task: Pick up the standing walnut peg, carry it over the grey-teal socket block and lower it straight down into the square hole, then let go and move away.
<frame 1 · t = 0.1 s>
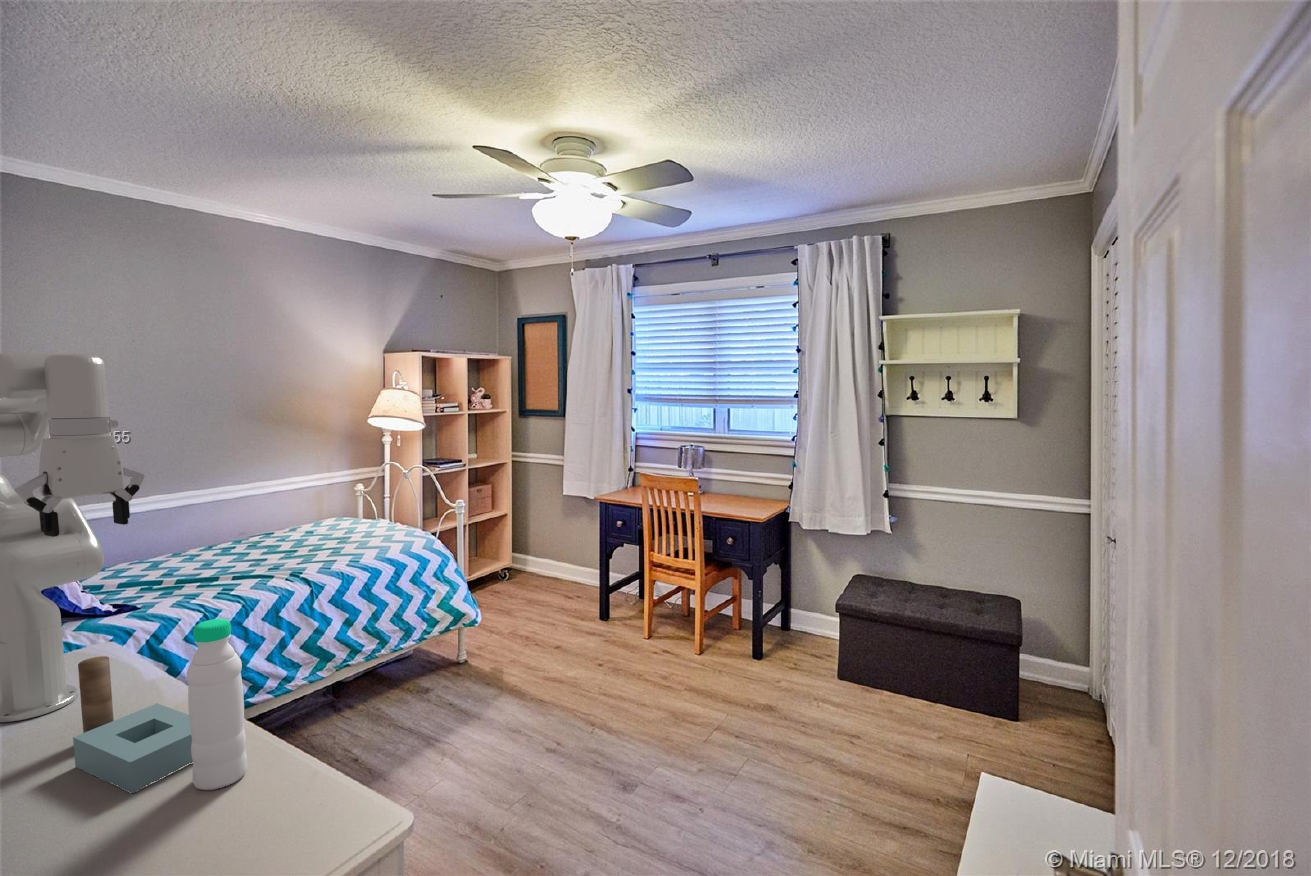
hand: (87, 529, 109), 37 cm above the table, tool pointing down, fingers open, 9 cm apart
water bottle: (221, 779, 100), on the table
socket block: (146, 759, 105), on the table
peg: (99, 739, 111), on the table
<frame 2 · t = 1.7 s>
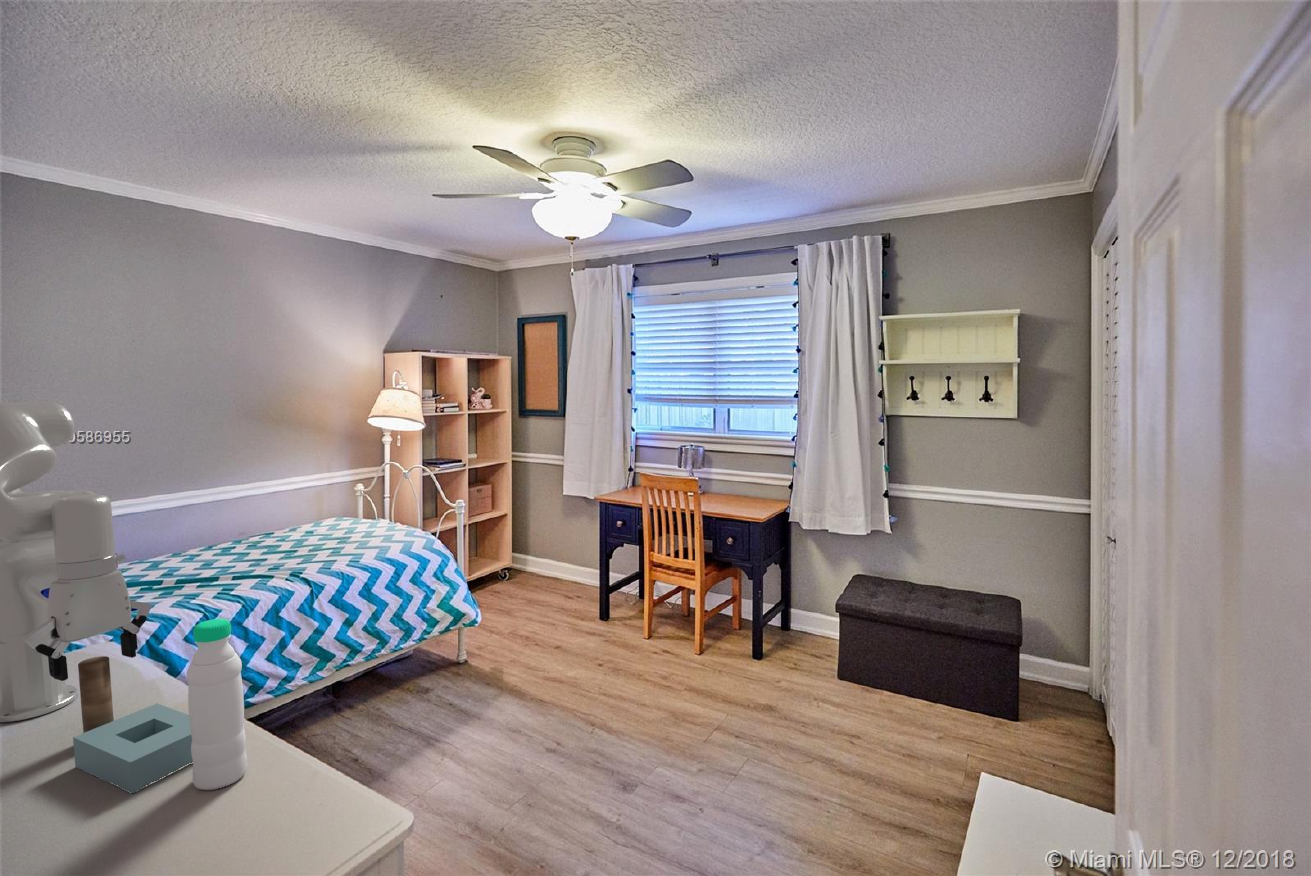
hand: (96, 667, 110), 13 cm above the table, tool pointing down, fingers open, 9 cm apart
nothing on the table moved.
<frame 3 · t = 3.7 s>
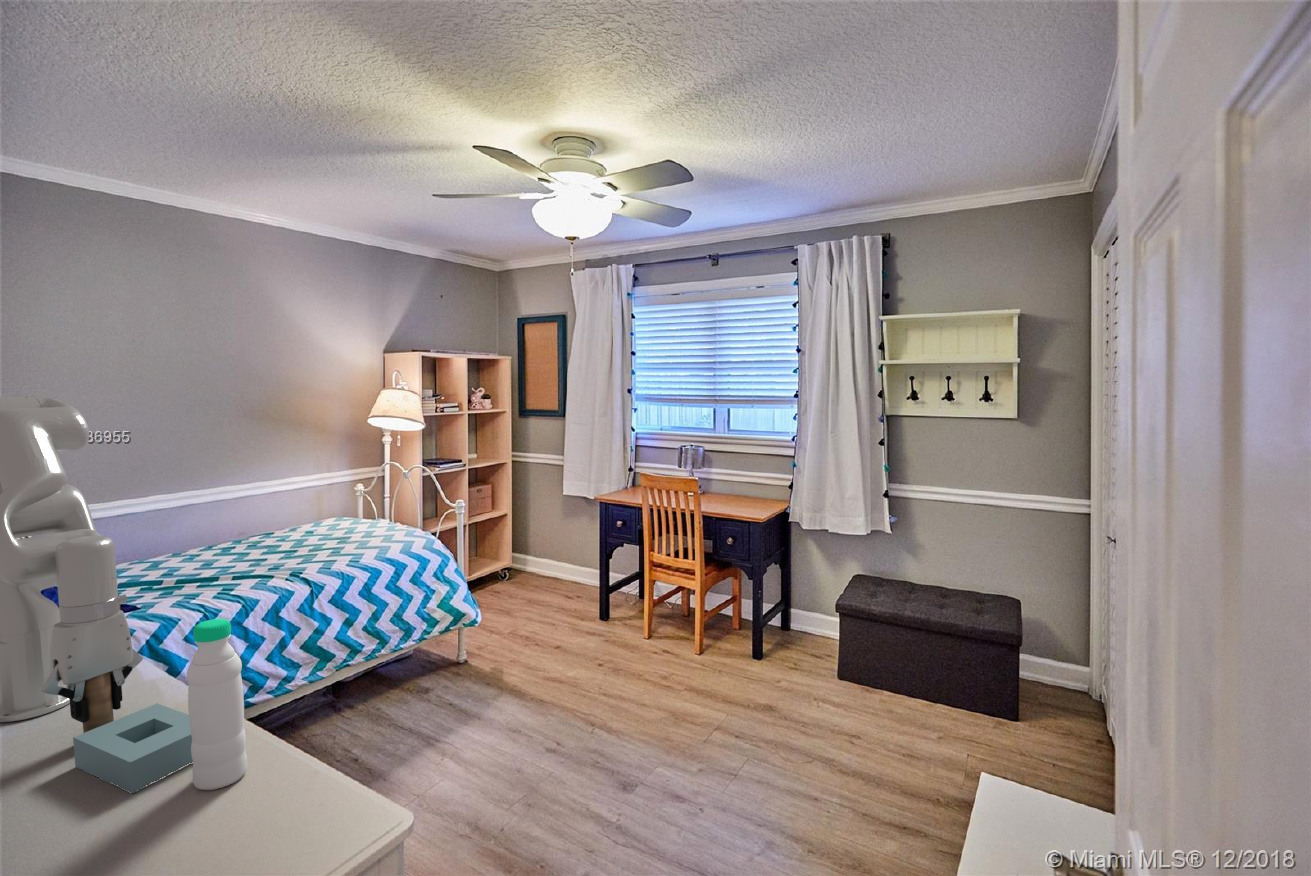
hand: (97, 712, 111), 5 cm above the table, tool pointing down, fingers closed on peg, 4 cm apart
peg: (99, 739, 111), on the table, touching gripper
everything else where it was.
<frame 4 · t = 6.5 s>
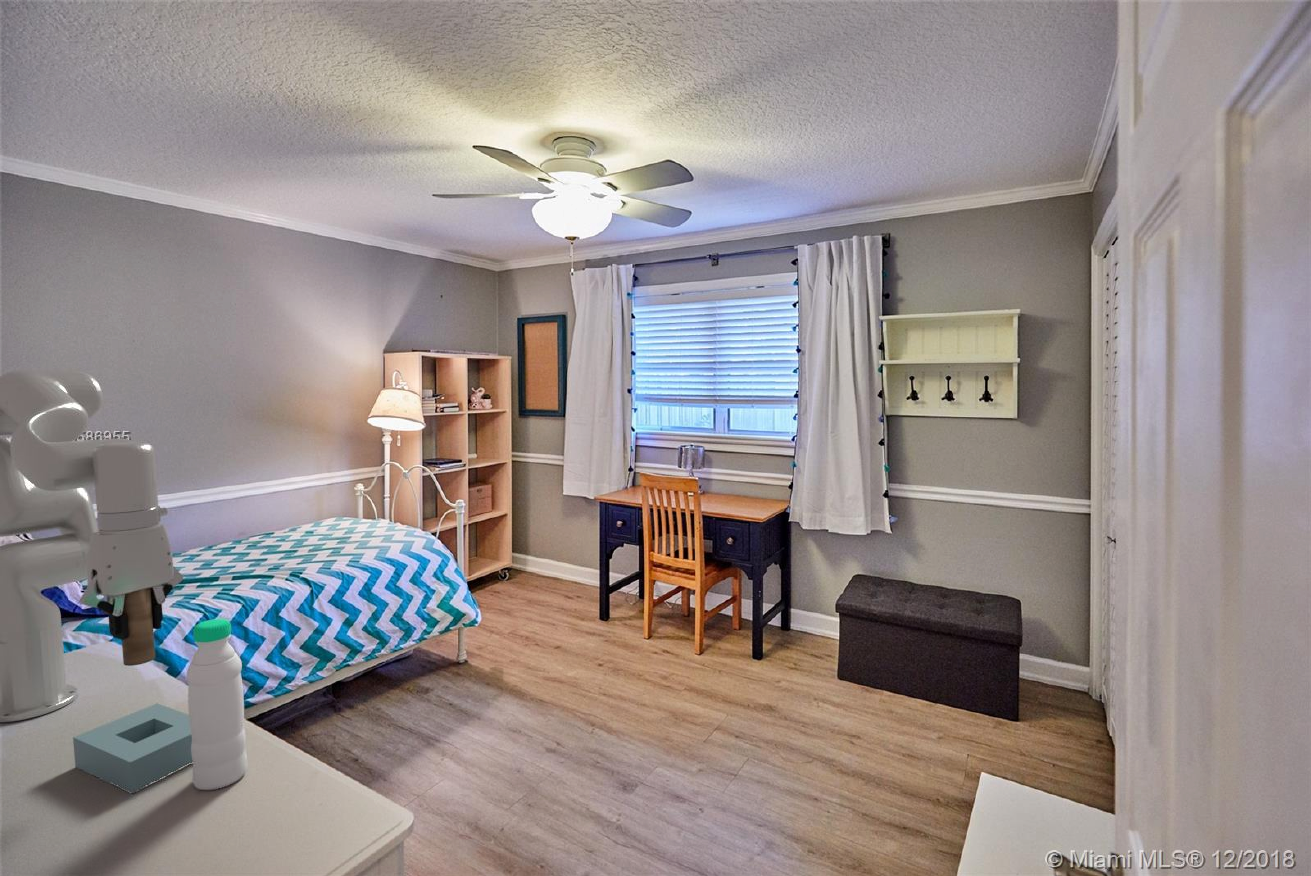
hand: (137, 631, 103), 22 cm above the table, tool pointing down, fingers closed on peg, 4 cm apart
peg: (139, 660, 104), point 17 cm above the table, touching gripper
everything else where it was.
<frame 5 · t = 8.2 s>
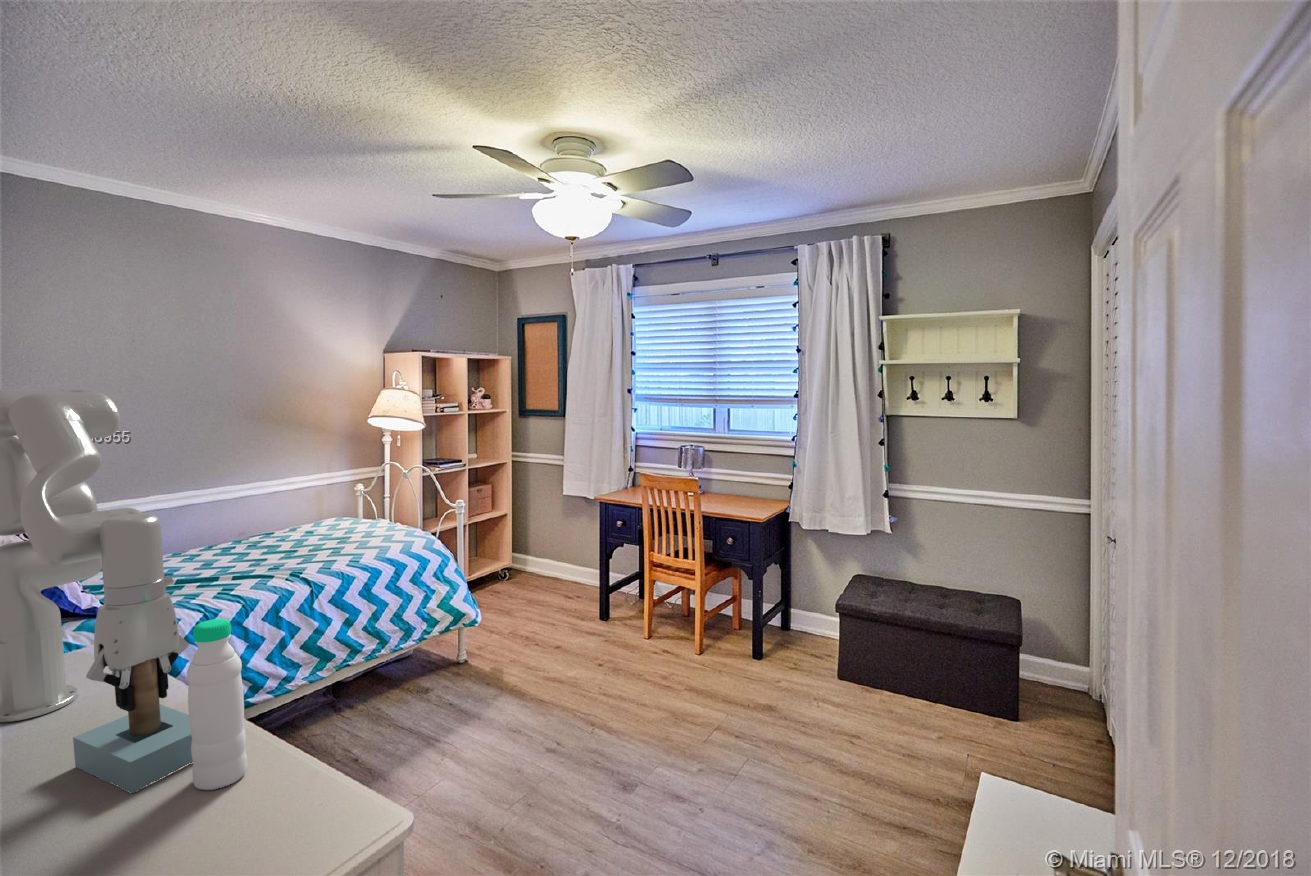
hand: (143, 701, 104), 10 cm above the table, tool pointing down, fingers closed on peg, 4 cm apart
peg: (145, 729, 105), point 5 cm above the table, touching gripper
everything else where it was.
when the fingers open (6 cm above the table, at t = 9.6 s): peg drops 1 cm, resting in socket block.
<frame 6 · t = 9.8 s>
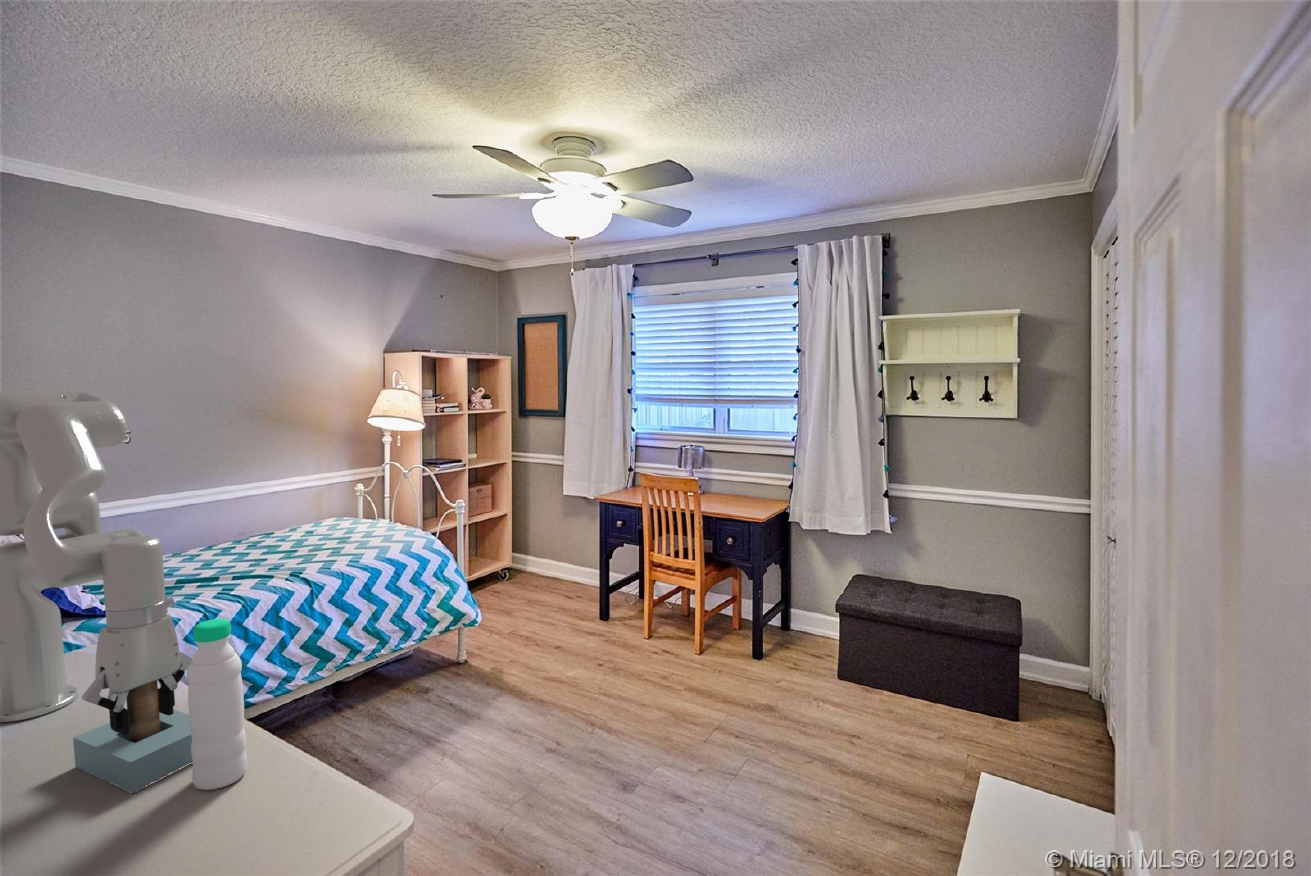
hand: (144, 721, 105), 7 cm above the table, tool pointing down, fingers open, 5 cm apart
peg: (146, 759, 105), resting in socket block
everything else where it was.
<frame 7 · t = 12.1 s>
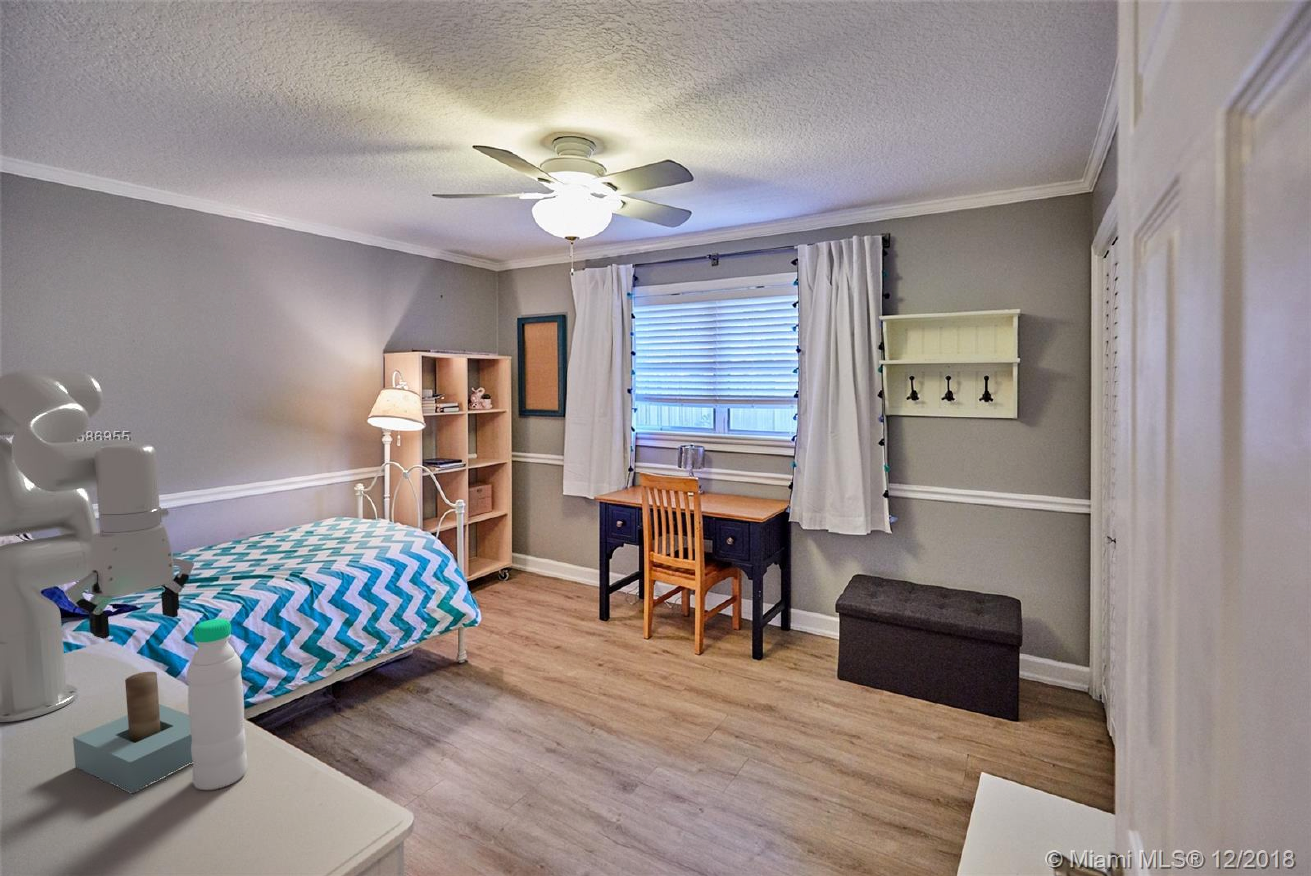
hand: (137, 625, 104), 22 cm above the table, tool pointing down, fingers open, 9 cm apart
nothing on the table moved.
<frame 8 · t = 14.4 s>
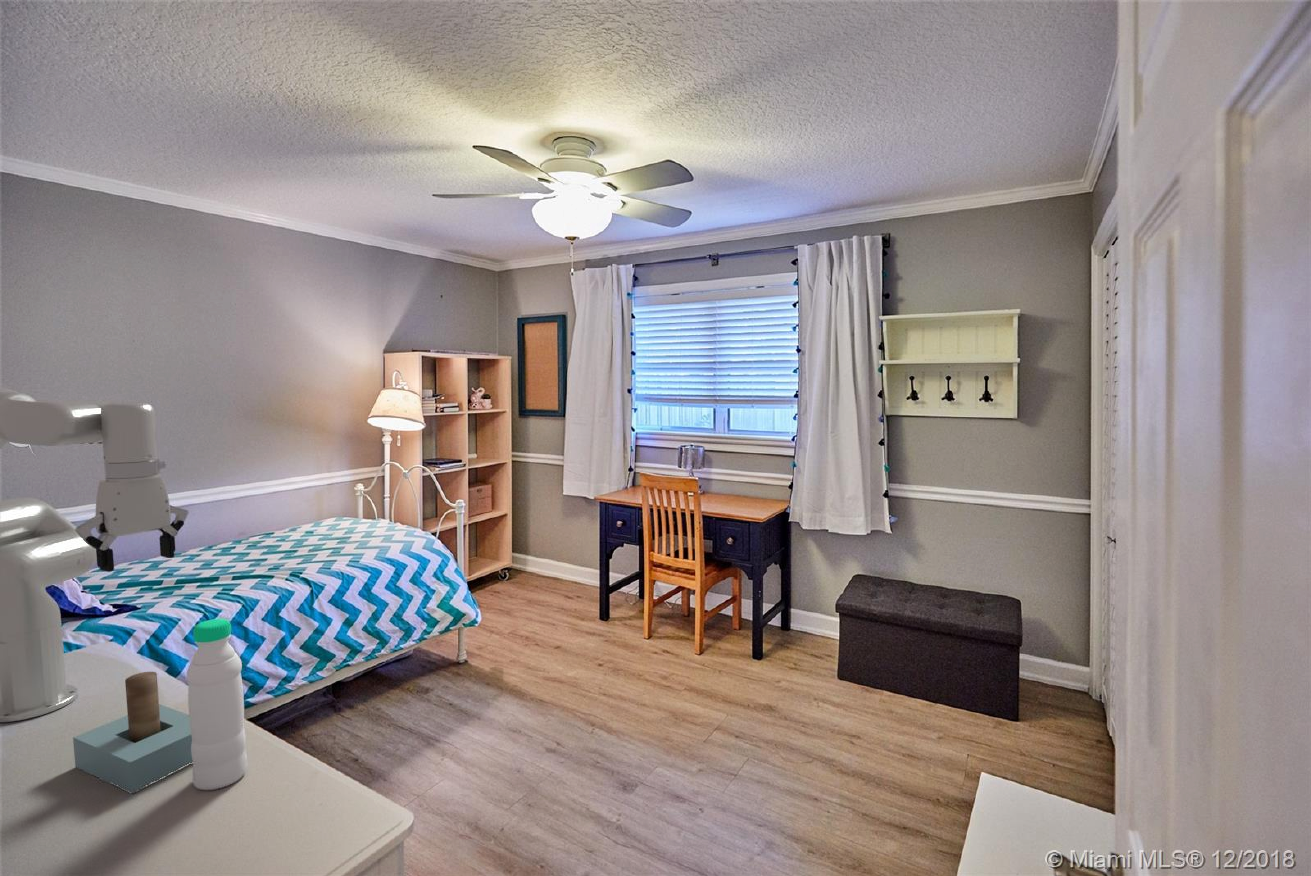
hand: (138, 563, 118), 28 cm above the table, tool pointing down, fingers open, 9 cm apart
nothing on the table moved.
at the end: peg 0.0 cm off-centre on the socket block, point 0.0 cm above the socket block's base; peg tilted 0°; the gripper is holding nothing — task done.
